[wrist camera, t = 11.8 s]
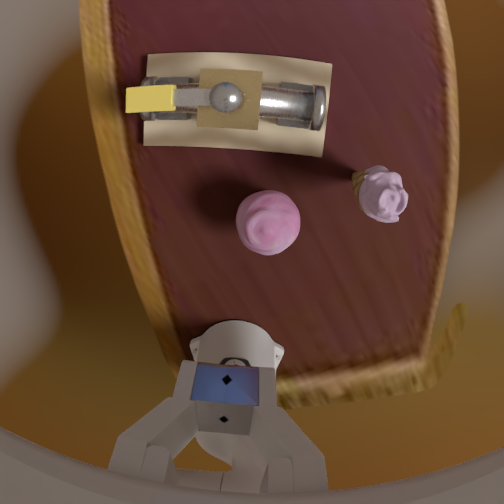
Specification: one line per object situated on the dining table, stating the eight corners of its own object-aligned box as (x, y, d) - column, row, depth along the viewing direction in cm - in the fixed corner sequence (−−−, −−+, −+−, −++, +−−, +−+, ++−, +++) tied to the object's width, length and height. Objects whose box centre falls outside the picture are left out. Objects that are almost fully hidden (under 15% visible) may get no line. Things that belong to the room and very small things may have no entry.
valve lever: (243, 83, 29) (242, 82, 27) (241, 112, 31) (240, 113, 29) (133, 86, 29) (126, 86, 27) (132, 114, 30) (125, 114, 29)
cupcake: (234, 184, 46) (228, 204, 38) (292, 176, 46) (300, 194, 37) (243, 237, 50) (240, 268, 41) (297, 230, 50) (306, 260, 41)
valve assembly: (319, 155, 44) (339, 172, 33) (146, 144, 44) (113, 158, 33) (329, 65, 38) (353, 52, 27) (151, 55, 37) (118, 42, 27)
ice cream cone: (328, 164, 45) (358, 190, 31) (363, 146, 43) (406, 165, 30) (347, 201, 47) (380, 240, 34) (380, 183, 46) (424, 216, 32)
